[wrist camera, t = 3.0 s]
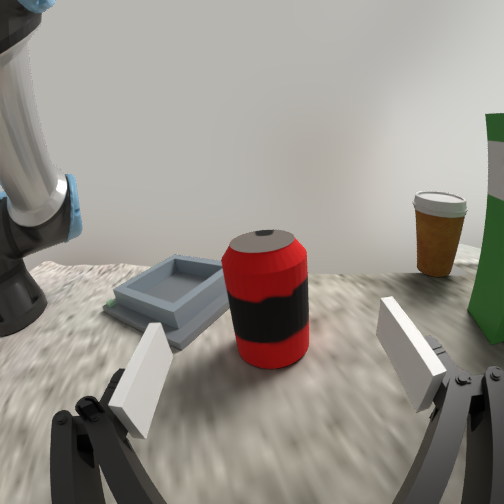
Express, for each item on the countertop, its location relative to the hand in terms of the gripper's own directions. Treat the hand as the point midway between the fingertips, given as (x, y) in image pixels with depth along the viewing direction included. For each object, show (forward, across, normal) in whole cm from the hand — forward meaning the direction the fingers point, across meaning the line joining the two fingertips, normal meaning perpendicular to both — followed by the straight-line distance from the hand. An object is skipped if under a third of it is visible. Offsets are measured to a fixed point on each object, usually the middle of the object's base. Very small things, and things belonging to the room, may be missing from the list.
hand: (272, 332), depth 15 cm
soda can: (+10, 0, -10) cm, 14 cm away
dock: (+23, -14, -10) cm, 28 cm away
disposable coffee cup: (+22, +27, -10) cm, 36 cm away
